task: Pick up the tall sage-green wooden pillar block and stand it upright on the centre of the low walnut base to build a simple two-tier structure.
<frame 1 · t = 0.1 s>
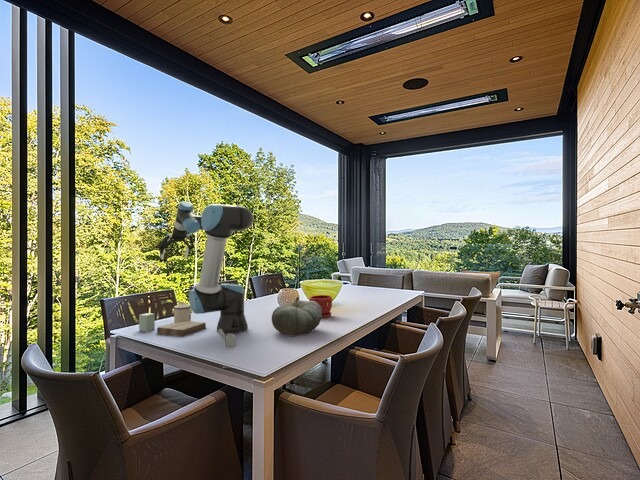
hand: (174, 257, 202), 36 cm above the table, fingers open, 13 cm apart
sage pillar block: (147, 329, 176), on the table
gourd: (296, 333, 168), on the table
walnut base: (182, 331, 173), on the table
teacup with lid: (181, 322, 194), on the table
lighter: (227, 347, 146), on the table
plant pot: (321, 317, 204), on the table
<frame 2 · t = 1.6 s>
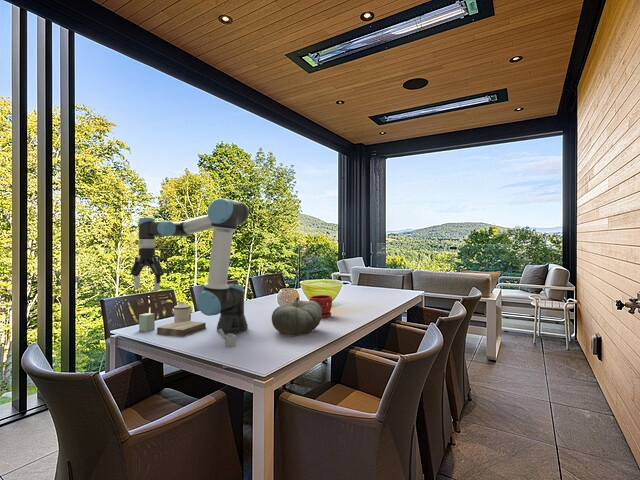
hand: (147, 289, 177), 21 cm above the table, fingers open, 13 cm apart
nothing on the table moved.
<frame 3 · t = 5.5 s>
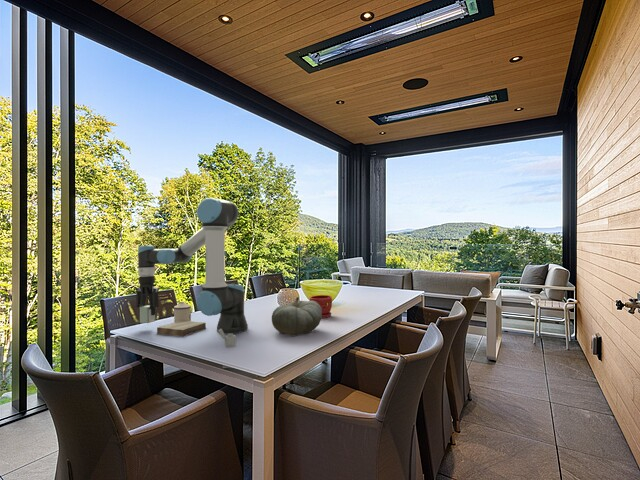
hand: (147, 321, 176), 4 cm above the table, fingers closed on sage pillar block, 5 cm apart
sage pillar block: (147, 322, 176), point 4 cm above the table, touching gripper
everything else where it was.
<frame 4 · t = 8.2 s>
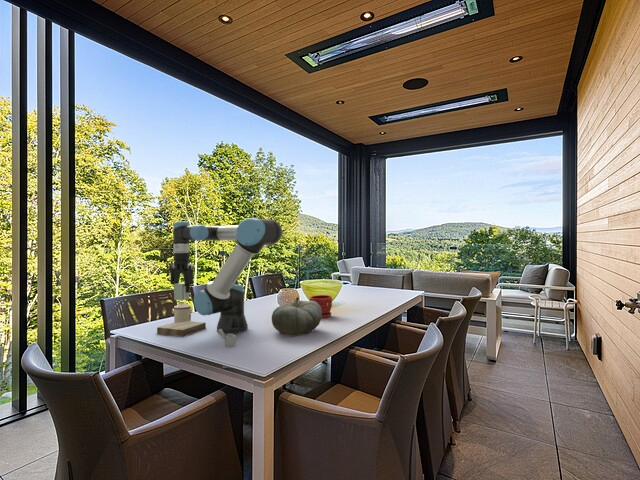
hand: (181, 298, 173), 16 cm above the table, fingers closed on sage pillar block, 5 cm apart
sage pillar block: (181, 299, 173), point 16 cm above the table, touching gripper
everything else where it was.
when the fingers open (4 cm above the table, at t = 11.1 s): sage pillar block stays where it is, resting on walnut base.
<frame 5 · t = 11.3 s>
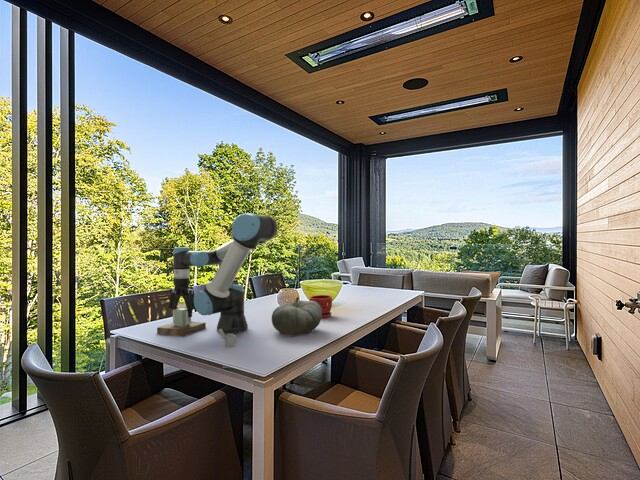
hand: (182, 323, 173), 4 cm above the table, fingers open, 8 cm apart
sage pillar block: (182, 325, 173), point 3 cm above the table, touching walnut base
everything else where it was.
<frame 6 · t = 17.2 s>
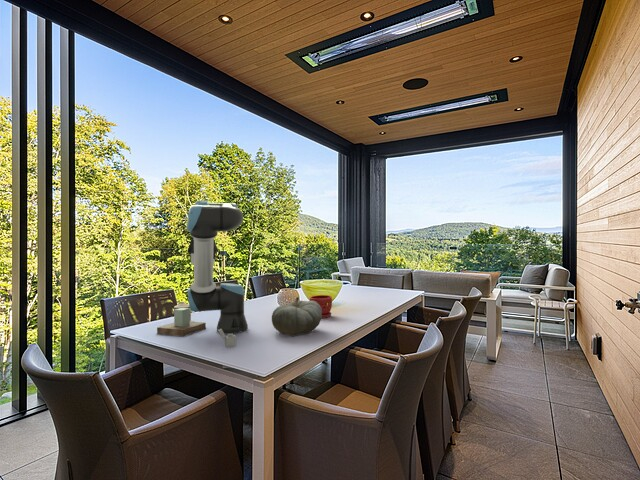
hand: (202, 264, 199), 32 cm above the table, fingers open, 13 cm apart
nothing on the table moved.
at the end: sage pillar block inside the target area on the walnut base (0.0 cm from its centre), point 3.0 cm above the walnut base's base; sage pillar block tilted 0°; the gripper is holding nothing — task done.
